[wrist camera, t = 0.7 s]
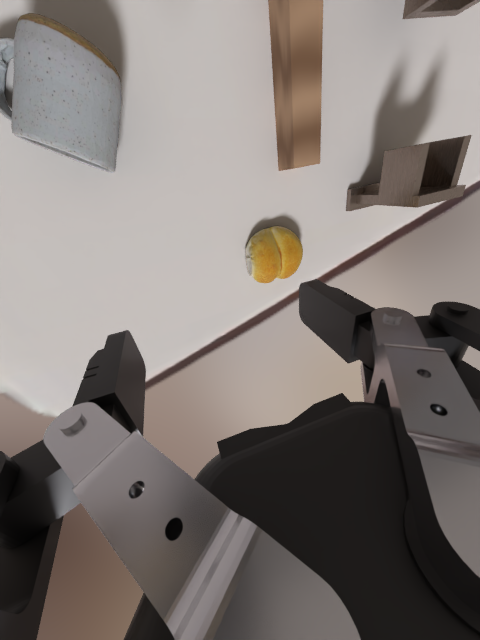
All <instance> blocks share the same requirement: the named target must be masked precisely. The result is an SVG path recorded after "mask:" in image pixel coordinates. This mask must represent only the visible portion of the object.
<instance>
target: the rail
mask: <svg viewBox="0 0 480 640" xmlns="http://www.w3.org/2000/svg"><path fill="white" fill-rule="evenodd" d="M268 2H269V19H270V35H271V52H272V68H273V85H274V101H275V117H276V134H277V150H278V167H279V171H281V170H287V169H293V168H299V167H304V166H309V165H314V164H319V163H320V138H321V84H322V29H323V0H268Z"/></svg>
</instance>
